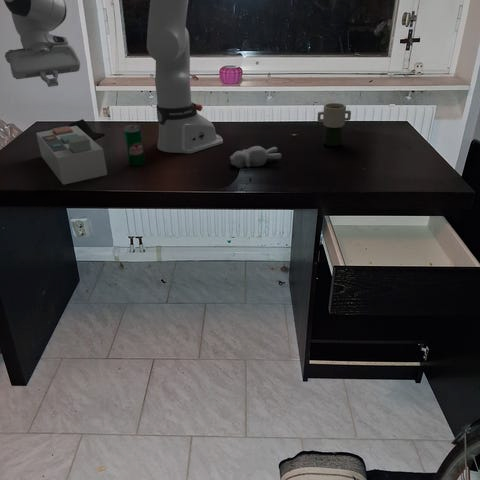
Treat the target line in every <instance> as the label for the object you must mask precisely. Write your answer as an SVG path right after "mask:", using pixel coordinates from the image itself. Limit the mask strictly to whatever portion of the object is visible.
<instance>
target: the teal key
mask: <svg viewBox="0 0 480 480" xmlns="http://www.w3.org/2000/svg"><path fill="white" fill-rule="evenodd" d="M77 136H79V135H77V134H72V135H67V136H61V137H60V138H61V141H62V142H63V143H64V144H68V139H67V138H72V137H77Z"/></svg>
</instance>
